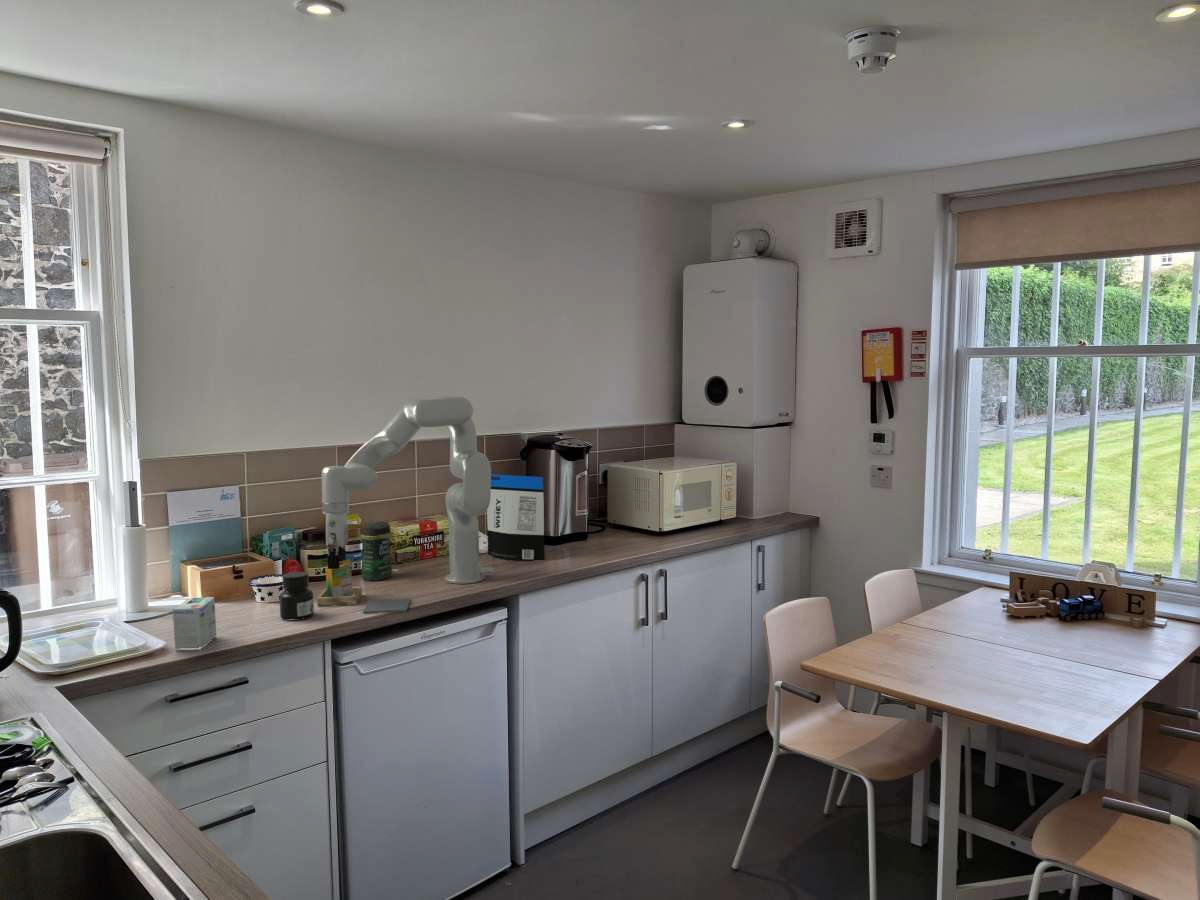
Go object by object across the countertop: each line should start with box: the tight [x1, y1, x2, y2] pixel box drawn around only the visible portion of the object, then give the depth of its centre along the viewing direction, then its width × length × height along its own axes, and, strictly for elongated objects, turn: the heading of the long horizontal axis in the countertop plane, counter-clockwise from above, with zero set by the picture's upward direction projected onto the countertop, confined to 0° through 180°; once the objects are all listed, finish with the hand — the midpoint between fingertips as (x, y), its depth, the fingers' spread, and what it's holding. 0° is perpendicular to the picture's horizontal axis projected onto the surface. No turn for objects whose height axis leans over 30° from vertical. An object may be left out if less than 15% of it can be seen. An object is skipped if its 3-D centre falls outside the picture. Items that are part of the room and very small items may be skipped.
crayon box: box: [325, 558, 353, 597], centre depth 256 cm, size 7×3×12 cm, turn 146°
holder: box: [316, 586, 363, 607], centre depth 257 cm, size 11×11×2 cm
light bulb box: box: [172, 596, 217, 650], centre depth 218 cm, size 11×7×11 cm, turn 5°
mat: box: [362, 598, 412, 614], centre depth 250 cm, size 12×12×1 cm
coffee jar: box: [360, 521, 393, 582], centre depth 283 cm, size 10×8×19 cm
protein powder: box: [486, 473, 546, 562], centre depth 311 cm, size 10×24×30 cm, turn 63°
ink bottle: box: [279, 571, 315, 620], centre depth 240 cm, size 10×9×12 cm
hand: (336, 565), depth 255 cm, fingers open, 9 cm apart
